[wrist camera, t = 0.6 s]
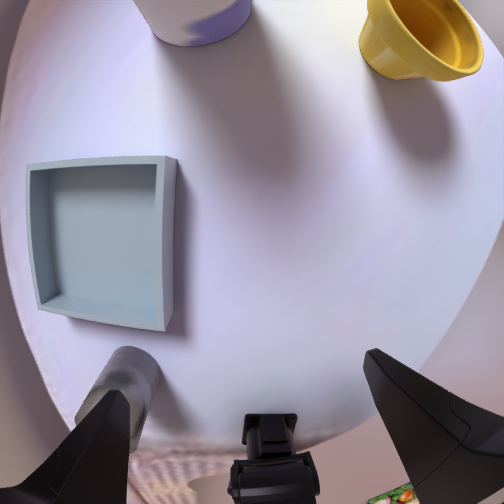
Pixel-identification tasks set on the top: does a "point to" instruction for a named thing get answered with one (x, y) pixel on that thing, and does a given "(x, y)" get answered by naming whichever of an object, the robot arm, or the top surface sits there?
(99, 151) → the top surface
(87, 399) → the metallic can
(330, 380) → the top surface
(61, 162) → the bin
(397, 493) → the blue food package
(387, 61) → the plant pot
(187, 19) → the container
